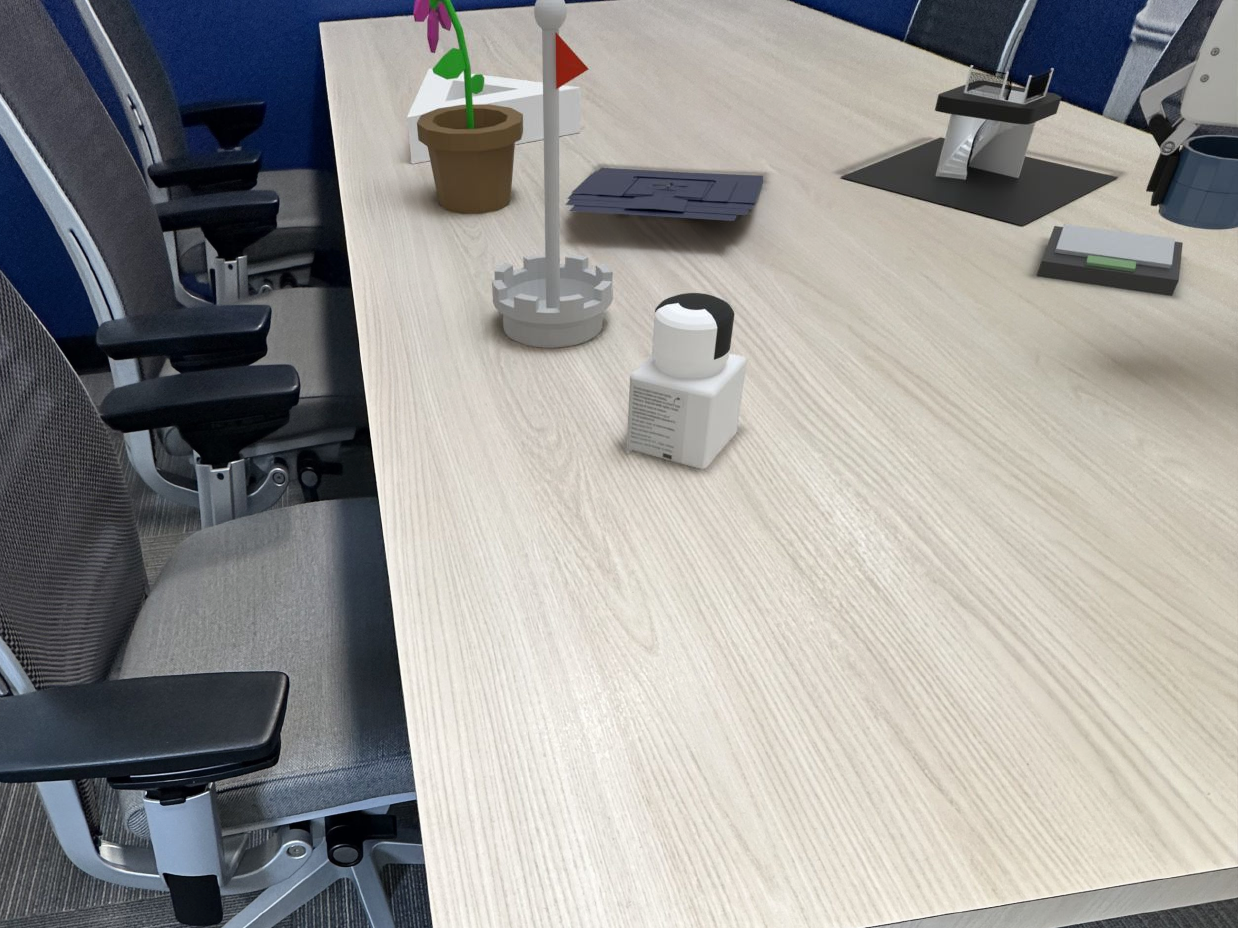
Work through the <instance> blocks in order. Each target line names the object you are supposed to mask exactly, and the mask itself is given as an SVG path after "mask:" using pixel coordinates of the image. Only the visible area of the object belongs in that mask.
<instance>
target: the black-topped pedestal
mask: <svg viewBox="0 0 1238 928" xmlns="http://www.w3.org/2000/svg"><path fill="white" fill-rule="evenodd" d="M1054 69H1055V68H1053V67H1051V68H1050V70H1048V71H1046V72H1043V73H1039V74H1037V75H1034V76H1033V75H1031V74H1030V75H1028V79H1027V83H1026V86H1025V87H1023V86H1022V87H1021V86H1015V85H1013V83H1012V77H1011V75H1010V73H1009V71H1006V72H1005V71H1004V72H1003V71H998V70H992V69H986V68H981V67H976V66H974V65H972V64H971V65H970V67H969V71H968V73H967V74H968V75H967V78H966V82H965V84H963V85H960V86H957V87H954V88H952V89H949V90H946V91H943V92H941V93H938V95H937V98H936V103H935V107H934V111H935V112H938V113H943V114H947V115H950V117H949V121H948V124H947V128H946V133H945V137H941V136H940V137H938V138H935V139H933V140H929V141H928V142H925V143H922V144H920V145H918V146H915V147H912V148H910V149H908V150H905V151H902V152H900V153H897V154H894V155H892V156H889V157H887V158H884V159H882V160H879V161H877V162H874V163H872V164H869V165H867V166H864V167H862V168H858V169H856V170H854V171H852V172H849V173H847V174H846V173H845V174H844V175H842V176H840V178H842V179H847V180H850V181H853V182H858V183H861V184H865V185H869V186H872V187H876V188H879V189H883V190H887V191H890V192H891V191H892V192H894V193H898V194H903V195H906V196H911V197H913V198H918V199H921V200H924V201H928V202H929V201H930V202H933V203H937V204H940V205H944V206H947V207H951V208H956V209H959V210H962V211H966V212H970V213H973V214H978V215H982V216H985V217H990V218H993V219H997V220H1000V221H1004V222H1007V223H1013V224H1015V225H1018V226H1025V225H1027V224H1029V223H1030V222H1032V221H1035V220H1036V219H1039V218H1041V217H1043V216H1045V215H1047V214H1049V213H1051V212H1052V211H1055V210H1056V209H1059V208H1060V207H1062V206H1065V205H1067V204H1068V203H1070V202H1072V201H1074V200H1076V199H1078V198H1080V197H1081V196H1085V195H1086V194H1088V193H1090V192H1092V191H1095V190H1096V189H1098V188H1101V187H1102V186H1104V185H1106V184H1108V183H1110V182H1112V181H1114V180H1116V179H1118V178H1119V176H1115V175H1112V174H1107V173H1102V172H1099V171H1098V172H1097V171H1092V170H1090V169H1089V170H1088V169H1083V168H1080V167H1075V166H1070V165H1065V164H1061V163H1057V162H1052V161H1048V160H1044V159H1039V158H1036V157H1035V158H1034V157H1030V156H1026V155H1027V151H1028V149H1029V145H1030V142H1031V139H1032V135H1033V133H1034V129H1035V126H1036V123H1037V122H1039V121H1041V120H1045V119H1047V118H1050V117H1052V116H1054V115H1056V114H1057V113H1058V110H1059V107H1060V104H1061V101H1062V96H1060V95H1059V94H1056V93H1054V92H1048V89H1049V86H1050V83H1051V79H1052V77H1053V72H1054Z"/></svg>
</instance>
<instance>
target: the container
mask: <svg viewBox="0 0 1238 928" xmlns="http://www.w3.org/2000/svg"><path fill="white" fill-rule="evenodd" d="M653 316H654V317H653V331H652V346H651V347H652V348H651V355H650V356H648V357H647V359H645V360H644V362H642V363H641V364H640V365H639V366H638V367H637V368H636V369H635V370H634V371H633V372H631V374H630V376H629V391H628V408H627V411H628V412H627V414H628V415H627V429H626V430H627V431H626V446H625V447H626V453H627V454H630V453H631V452H632V451H634V452H638V453H642V454H646V455H648V456H653V457H657V458H660V459H663V460H667V461H671V462H674V463H677V464H681V465H686V466H689V467H693V468H697V469H700V470H704V469H705V470H706V468H707V467H708V466H709V465H710V464H711V463H712V462H713V461H714V459H715V458H716V457H717V456H718V454H719V453H720V452H721V451H722V450H723V449H724V448H725V446H726V445H727V444H728V443H729V442H730V441H731V439H732V438H733V437H734V436H735V435H736V433H737V432H738V427H739V426H738V425H739V419H740V411H741V404H742V398H743V392H744V391H743V390H744V382H745V377H746V370H747V362H748V361H747V357H745V356H743V355H739V354H734V353H731V344H732V339H733V338H732V337H733V330H734V329H733V328H734V322H735V311H734V309H733V308H732V306H731V304H730V303H728V302H727V301H725V300H724V299H722V298H720V297H717V296H715V295H713V294H712V295H711V294H709V293H702V292H686V293H679V294H675V295H673V296H670V297H668V298H665V299H664V300H662V301H660V303H659V304H658V305H657V306H656V307H655V309H654V315H653Z"/></svg>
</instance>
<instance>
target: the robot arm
mask: <svg viewBox="0 0 1238 928" xmlns="http://www.w3.org/2000/svg"><path fill="white" fill-rule="evenodd" d="M1211 21H1212V22H1211V24H1210V26H1209V28H1208V30H1207V33H1206V35H1205V36H1204V39H1203V41H1202V44H1201V46H1200V48H1199V51H1198V52H1197V54H1196V57H1195V60H1193V62H1191V63H1189V64H1187V65H1185V66H1184V67H1182V68H1180V69H1179V70H1176V71H1175V72H1173V73H1172V74H1170V75H1169V76H1166V77H1165V78H1163V79H1161V80H1160V81H1158V82H1156V83H1154V84H1153V85H1151V86H1149V87H1148V88H1146V89H1144V90H1143V91H1142V92H1141V93H1140V97H1139V105H1140V107H1141V110H1142V113H1143V116H1144V119H1145V120H1146V123H1147V127H1148V130H1149V131H1150V133H1151V135H1152V137H1153V139H1154V140H1155V142H1156V144H1157V146H1158V148H1159V155H1158V157H1157V160H1156V163H1155V165H1154V168H1153V171H1152V173H1151V175H1150V178H1149V179H1148V180H1149V181H1148V183H1147V186H1146V189H1145V191H1146V192H1147V193H1152V194H1151V199H1150V206H1151V207H1158V206H1159V205H1160V204H1161V202H1162V199H1163V197H1164V194H1165V192H1166V189H1167V187H1168V184H1169V182H1170V180H1171V177H1172V175H1173V172H1174V170H1175V167H1176V165H1177V162H1178V160H1179V152H1180V149H1181V146H1182V144H1183V142H1184V141H1185V140H1187V139H1189V138H1190V136H1192V134H1194V132H1196V130H1197V129H1199V128H1200V127H1201V125H1206V126H1217V127H1227V128H1228V127H1229V128H1238V0H1222V1H1221V3H1220V5H1219V7H1218V9H1217V11H1216V13H1215V15H1214V18H1213V19H1212V20H1211ZM1182 89H1183V90H1182ZM1180 90H1182V92H1181V96H1180V103H1181V105H1180V115H1181V116H1180V118H1178V119H1177V121H1175V123H1174V124H1172V123H1171V121H1170V120H1169V118H1168V116H1167V114H1166V113H1165V110H1164V108H1163V104H1162V102H1163V101H1164V100H1165V99H1166V98H1169V97H1170V96H1172V95H1173V94H1175V93H1177V92H1179V91H1180Z"/></svg>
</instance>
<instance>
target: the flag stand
mask: <svg viewBox="0 0 1238 928" xmlns="http://www.w3.org/2000/svg"><path fill="white" fill-rule="evenodd" d="M533 8H534V9H533V14H534V20H535V23H536V24H537V26H538V27H539V28H540V29H541V35H542V36H541V41H542V42H541V44H542V45H541V48H542V53H541V54H542V83H543V126H544V139H543V179H544V180H543V182H544V183H543V186H544V187H543V190H544V193H543V194H544V241H545V242H544V252H545V253H538V254H537V253H536V254H529V255H526V256H523V257H522V259H523V260H522V261H523V266H522V267H520V268H517V269H514V265H513V264H510V263H507V262H505V263H503V264H501V265H500V266H498V267H497V268H496V269H495V270H494V271H493V272H494V280H491V293H492V304H493V306H494V308H495V309H496V310H497V311H498V312H499V313H500V314H502V323H503V331H504V333H505V334H506V336H507V337H508V338H510V339H511V340H513V341H514V342H517V343H519V344H521V345H526V346H528V347H529V346H530V347H536V348H547V349H550V348H551V349H552V348H553V349H554V348H555V349H556V348H565V347H572V346H573V347H574V346H576V345H580V344H583V343H586V342H588V341H590V340H592V339H594V338H595V337H597V336H598V335H599V334H600V332H602V329H603V326H604V325H603V324H604V323H603V320H604V312H605V311H606V310H607V309H608V308H609V307H610V306H611V305H612V302H613V299H614V285H613V270H612V269H611V267H610V266H608V265H607V264H606V263H600V264H597V265H595V269H593V268H591V267H589V256H585V255H580V254H574V253H567V254H566V255H565V260H564V261H565V263H561V256H560V255H561V254H560V253H561V251H560V249H561V248H560V247H561V246H560V245H561V241H560V240H561V239H560V237H561V236H560V233H561V232H560V231H561V230H560V136H559V88H560V87H561V86H563V85H566V84H568V83H570V82H571V81H572V80H574V79H575V78H577V77H579V76H580V75H582V74H584V73H586V72H588V70H589V67H588V66H587V65H586V64H585V63H584V62H583V60H581V58H580V57H579V56H578V55H577V54H576V53H575V52H574V51H573V49H572V48H571V47H570V46H569V45H568V44H567V43H566V41H564V39H562V37H561V36H560V28H561V27H562V26H563V25H564V23H565V21H566V18H567V12H568V11H567V4H566V2H565V0H536V1H535V4H534V7H533Z"/></svg>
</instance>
